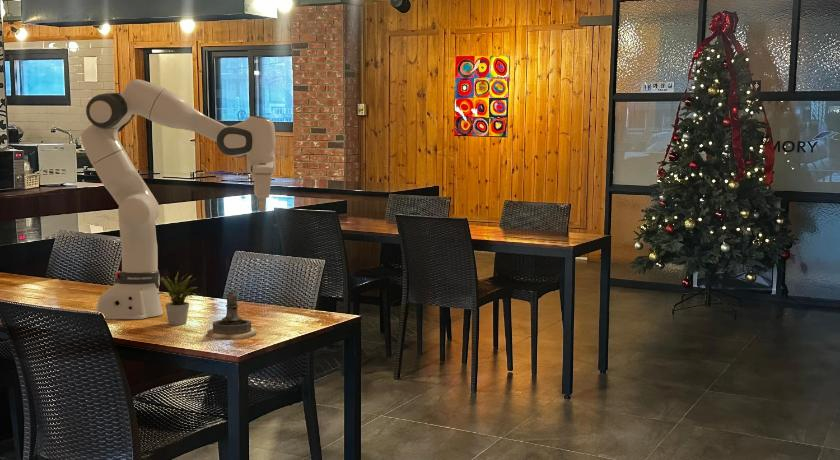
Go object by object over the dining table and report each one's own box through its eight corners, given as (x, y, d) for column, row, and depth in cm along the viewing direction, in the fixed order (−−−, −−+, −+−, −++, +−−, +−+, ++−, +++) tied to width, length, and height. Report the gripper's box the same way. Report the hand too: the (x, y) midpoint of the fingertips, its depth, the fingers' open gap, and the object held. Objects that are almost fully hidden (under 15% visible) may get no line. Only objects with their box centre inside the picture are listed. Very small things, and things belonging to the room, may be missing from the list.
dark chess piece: (239, 333, 267) (239, 291, 266) (219, 332, 267) (218, 291, 266) (244, 329, 273) (244, 288, 272) (225, 328, 273) (225, 288, 272)
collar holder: (207, 339, 262) (207, 327, 261) (207, 330, 275) (207, 318, 275) (257, 338, 265) (257, 326, 264) (255, 329, 278) (255, 317, 278)
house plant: (152, 329, 275) (152, 274, 274) (146, 321, 288) (145, 269, 287) (201, 326, 281) (201, 273, 280) (193, 319, 294) (192, 267, 292)
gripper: (249, 166, 305) (249, 209, 306) (252, 167, 285) (252, 212, 286) (269, 167, 306) (269, 209, 307) (273, 168, 286) (273, 212, 288)
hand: (261, 211), depth 297 cm, fingers open, 8 cm apart
